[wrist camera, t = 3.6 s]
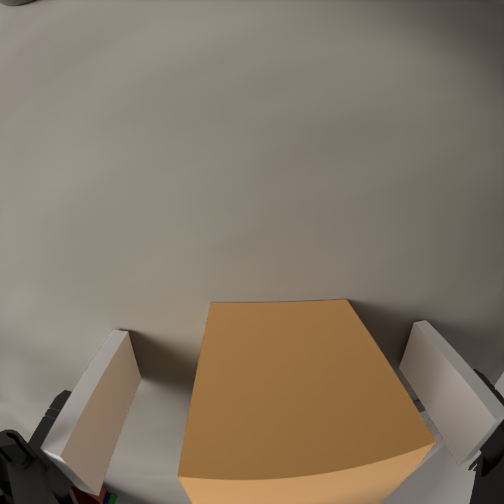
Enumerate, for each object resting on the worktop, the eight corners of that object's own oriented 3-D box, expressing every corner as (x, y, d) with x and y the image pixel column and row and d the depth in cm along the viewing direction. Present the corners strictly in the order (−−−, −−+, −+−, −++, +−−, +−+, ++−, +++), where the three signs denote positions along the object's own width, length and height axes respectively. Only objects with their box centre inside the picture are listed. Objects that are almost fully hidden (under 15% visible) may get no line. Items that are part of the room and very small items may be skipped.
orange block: (210, 302, 10) (177, 476, 4) (346, 299, 10) (436, 441, 4) (219, 397, 12) (210, 531, 5) (327, 391, 12) (366, 515, 5)
